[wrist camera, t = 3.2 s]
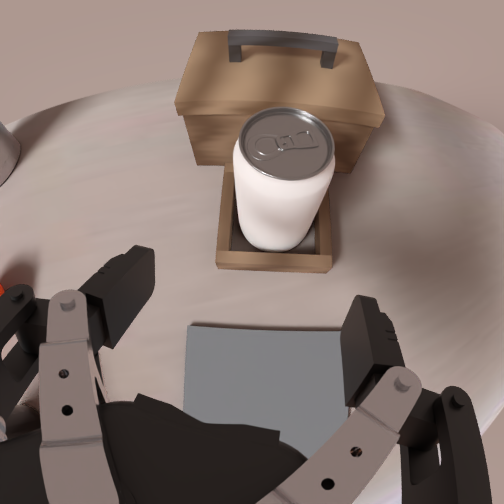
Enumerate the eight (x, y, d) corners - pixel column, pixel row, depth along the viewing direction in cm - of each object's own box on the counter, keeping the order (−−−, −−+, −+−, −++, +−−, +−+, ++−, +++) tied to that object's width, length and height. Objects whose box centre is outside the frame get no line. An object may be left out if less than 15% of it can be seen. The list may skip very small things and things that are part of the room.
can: (231, 199, 28) (220, 112, 17) (295, 184, 29) (316, 96, 17) (249, 262, 26) (247, 199, 15) (317, 244, 27) (359, 174, 15)
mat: (184, 453, 21) (182, 455, 20) (189, 325, 25) (187, 325, 24) (341, 456, 21) (343, 459, 20) (349, 331, 24) (352, 331, 24)
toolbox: (179, 266, 26) (125, 204, 14) (208, 93, 33) (195, 9, 21) (362, 274, 26) (435, 220, 14) (340, 101, 33) (364, 21, 20)
